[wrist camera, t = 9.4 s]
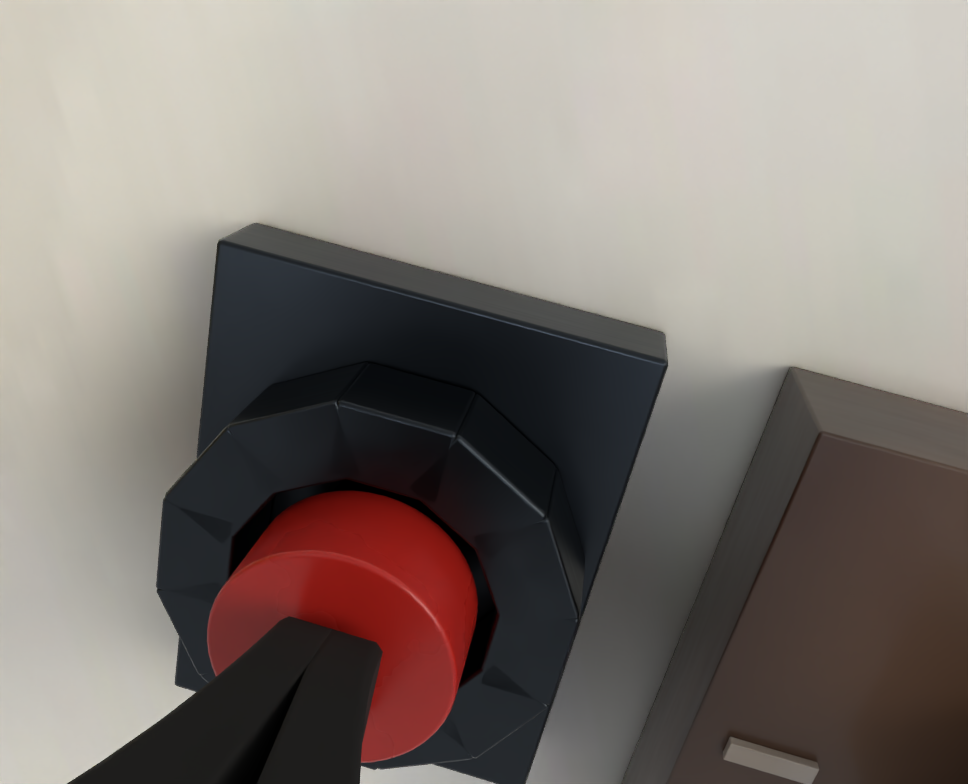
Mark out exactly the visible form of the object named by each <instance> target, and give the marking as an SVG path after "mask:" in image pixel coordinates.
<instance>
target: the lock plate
mask: <svg viewBox="0 0 968 784" xmlns="http://www.w3.org/2000/svg"><path fill="white" fill-rule="evenodd" d="M621 784H968V414H967V413H963V412H959V411H956V410H952V409H948V408H944V407H941V406H937V405H933V404H930V403H926V402H922V401H918V400H915V399H911V398H907V397H904V396H900V395H896V394H892V393H889V392H885V391H881V390H878V389H874V388H870V387H866V386H863V385H859V384H855V383H851V382H848V381H844V380H840V379H837V378H833V377H829V376H825V375H822V374H818V373H814V372H811V371H807V370H803V369H799V368H796V367H791V368H790V369H789V371H788V374H787V376H786V379H785V381H784V384H783V386H782V389H781V391H780V394H779V396H778V399H777V401H776V403H775V406H774V408H773V411H772V413H771V416H770V418H769V421H768V423H767V426H766V428H765V431H764V433H763V436H762V438H761V440H760V443H759V445H758V448H757V450H756V453H755V455H754V458H753V460H752V463H751V465H750V468H749V470H748V473H747V475H746V477H745V480H744V482H743V485H742V487H741V490H740V492H739V495H738V497H737V500H736V502H735V505H734V507H733V509H732V512H731V514H730V517H729V519H728V522H727V524H726V527H725V529H724V532H723V534H722V537H721V539H720V542H719V544H718V546H717V549H716V551H715V554H714V556H713V559H712V561H711V564H710V566H709V569H708V571H707V574H706V576H705V579H704V581H703V583H702V586H701V588H700V591H699V593H698V596H697V598H696V601H695V603H694V606H693V608H692V611H691V613H690V615H689V618H688V620H687V623H686V625H685V628H684V630H683V633H682V635H681V638H680V640H679V643H678V645H677V648H676V650H675V652H674V655H673V657H672V660H671V662H670V665H669V667H668V670H667V672H666V675H665V677H664V680H663V682H662V685H661V687H660V689H659V692H658V694H657V697H656V699H655V702H654V704H653V707H652V709H651V712H650V714H649V717H648V719H647V722H646V724H645V726H644V729H643V731H642V734H641V736H640V739H639V741H638V744H637V746H636V749H635V751H634V754H633V756H632V758H631V761H630V763H629V766H628V768H627V771H626V773H625V776H624V778H623V781H622V783H621Z"/></svg>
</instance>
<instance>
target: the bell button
mask: <svg viewBox="0 0 968 784" xmlns="http://www.w3.org/2000/svg"><path fill="white" fill-rule="evenodd" d="M477 614H478V597H477V589H476V585H475V581H474V578H473V574H472V572H471V570H470V568H469V565H468V563H467V561H466V559H465V557H464V556H463V554H462V552H461V551H460V549H459V547H458V546H457V545H456V544H455V542H454V541H453V540H452V538H451V537H450V536H449V535H448V534H447V533H446V532H445V531H444V530H443V529H442V528H441V527H440V526H439V525H438V524H436V523H435V522H434V521H433V520H431V519H430V518H429V517H428V516H426V515H425V514H423V513H421V512H420V511H418V510H417V509H415V508H413V507H411V506H409V505H407V504H405V503H403V502H401V501H399V500H396V499H393V498H390V497H387V496H384V495H380V494H375V493H371V492H364V491H354V490H351V491H333V492H326V493H321V494H318V495H314V496H311V497H308V498H305V499H303V500H301V501H298V502H296V503H295V504H293V505H291V506H290V507H288V508H287V509H285V510H284V511H283V512H281V513H280V514H279V515H278V516H277V517H276V518H275V519H274V520H273V521H272V522H271V524H270V525H269V526H268V527H267V528H266V530H265V531H264V532H263V534H262V535H261V536H260V538H259V539H258V540H257V542H256V543H255V544H254V546H253V547H252V548H251V550H250V551H249V552H248V554H247V555H246V556H245V558H244V559H243V560H242V562H241V563H240V564H239V566H238V567H237V568H236V570H235V571H234V572H233V573H232V575H231V576H230V577H229V579H228V580H227V581H226V583H225V584H224V585H223V587H222V588H221V590H220V592H219V593H218V595H217V597H216V598H215V600H214V603H213V606H212V608H211V611H210V615H209V620H208V627H207V644H208V653H209V657H210V661H211V664H212V668H213V670H214V673H215V675H216V676H218V675H219V674H220V673H221V672H222V671H224V670H225V669H226V668H227V667H228V666H230V665H231V664H232V663H233V662H234V661H236V660H237V659H238V658H239V657H240V656H241V655H242V654H244V653H245V652H246V651H247V650H248V649H249V648H251V647H252V646H253V645H254V644H255V643H256V642H257V641H258V640H259V639H261V638H262V637H263V636H264V635H265V634H266V633H267V632H268V631H269V630H270V629H271V628H273V627H274V626H275V625H276V624H277V623H278V622H279V621H280V620H282V619H284V618H286V617H288V616H291V617H294V618H297V619H301V620H304V621H307V622H311V623H314V624H317V625H321V626H324V627H327V628H331V629H334V630H337V631H341V632H344V633H347V634H351V635H354V636H357V637H361V638H364V639H367V640H371V641H374V642H377V644H378V645H379V647H380V648H381V650H382V651H383V654H382V658H381V662H380V667H379V671H378V676H377V680H376V685H375V689H374V694H373V698H372V703H371V707H370V711H369V716H368V720H367V725H366V729H365V734H364V738H363V743H362V753H361V763H367V762H376V761H382V760H387V759H390V758H394V757H397V756H400V755H402V754H405V753H407V752H409V751H411V750H413V749H415V748H416V747H418V746H420V745H421V744H423V743H424V742H425V741H426V740H428V739H429V738H430V737H431V736H432V735H433V734H434V733H435V732H436V731H437V730H438V729H439V728H440V727H441V725H442V724H443V723H444V722H445V720H446V718H447V716H448V715H449V713H450V711H451V709H452V706H453V703H454V701H455V698H456V694H457V691H458V687H459V683H460V680H461V676H462V672H463V669H464V665H465V661H466V658H467V654H468V651H469V647H470V643H471V640H472V636H473V632H474V629H475V625H476V620H477Z"/></svg>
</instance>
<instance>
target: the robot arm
mask: <svg viewBox="0 0 968 784" xmlns="http://www.w3.org/2000/svg"><path fill="white" fill-rule="evenodd" d="M382 654H383V651H382V650H381V648H380V647H379V645H378V644H377V642H374V641H371V640H367V639H364V638H361V637H357V636H354V635H351V634H347V633H344V632H341V631H337V630H334V629H331V628H327V627H324V626H321V625H317V624H314V623H311V622H307V621H304V620H301V619H297V618H294V617H291V616H288V617H286V618H284V619H282V620H280V621H279V622H278V623H277V624H276V625H275V626H274V627H273V628H271V629H270V630H269V631H268V632H267V633H266V634H265V635H264V636H263V637H262V638H261V639H259V640H258V641H257V642H256V643H255V644H254V645H253V646H252V647H251V648H249V649H248V650H247V651H246V652H245V653H244V654H242V655H241V656H240V657H239V658H238V659H237V660H236V661H234V662H233V663H232V664H231V665H230V666H228V667H227V668H226V669H225V670H224V671H222V672H221V673H220V674H219V675H218V676H216V677H215V678H214V679H213V680H211V681H210V682H209V683H208V684H206V685H205V686H204V687H203V688H201V689H200V690H199V691H197V692H196V693H195V694H194V695H192V696H191V697H190V698H188V699H187V700H186V701H185V702H183V703H182V704H181V705H180V706H178V707H177V708H176V709H174V710H173V711H172V712H171V713H169V714H168V715H167V716H165V717H164V718H163V719H161V720H160V721H158V722H157V723H156V724H154V725H153V726H151V727H150V728H149V729H147V730H146V731H144V732H143V733H141V734H140V735H139V736H137V737H136V738H134V739H133V740H132V741H130V742H129V743H127V744H126V745H124V746H123V747H122V748H120V749H119V750H117V751H116V752H114V753H113V754H112V755H110V756H109V757H107V758H106V759H104V760H103V761H101V762H100V763H98V764H97V765H95V766H94V767H92V768H91V769H89V770H88V771H86V772H85V773H83V774H81V775H80V776H78V777H77V778H75V779H74V780H72V781H70V782H69V783H67V784H360V769H361V753H362V743H363V738H364V734H365V729H366V725H367V720H368V716H369V711H370V707H371V703H372V698H373V694H374V689H375V685H376V680H377V676H378V671H379V667H380V662H381V658H382Z"/></svg>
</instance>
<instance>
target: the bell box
mask: <svg viewBox="0 0 968 784" xmlns="http://www.w3.org/2000/svg"><path fill="white" fill-rule="evenodd" d="M667 367H668V359H667V348H666V337H665V334H664V333H663V332H660V331H656V330H652V329H648V328H645V327H641V326H637V325H634V324H630V323H626V322H622V321H619V320H615V319H611V318H608V317H604V316H600V315H596V314H593V313H589V312H585V311H581V310H578V309H574V308H570V307H567V306H563V305H559V304H555V303H552V302H548V301H544V300H541V299H537V298H533V297H529V296H526V295H522V294H518V293H515V292H511V291H507V290H503V289H500V288H496V287H492V286H488V285H485V284H481V283H477V282H474V281H470V280H466V279H462V278H459V277H455V276H451V275H448V274H444V273H440V272H436V271H433V270H429V269H425V268H422V267H418V266H414V265H410V264H407V263H403V262H399V261H395V260H392V259H388V258H384V257H381V256H377V255H373V254H369V253H366V252H362V251H358V250H355V249H351V248H347V247H343V246H340V245H336V244H332V243H329V242H325V241H321V240H317V239H314V238H310V237H306V236H302V235H299V234H295V233H291V232H288V231H284V230H280V229H276V228H273V227H269V226H265V225H262V224H258V223H254V224H251V225H249V226H247V227H245V228H243V229H241V230H239V231H237V232H235V233H233V234H231V235H228V236H226V237H224V238H222V239H220V240H219V242H218V244H217V253H216V264H215V274H214V284H213V294H212V305H211V315H210V325H209V336H208V346H207V356H206V366H205V377H204V387H203V397H202V408H201V418H200V428H199V438H198V449H197V459H196V460H195V461H194V463H193V464H192V465H191V466H190V467H189V468H188V469H187V470H186V471H185V473H184V474H183V475H182V476H181V477H180V478H179V479H178V480H177V481H176V483H175V484H174V485H173V486H172V487H171V488H170V489H169V490H168V492H167V493H166V495H165V498H164V499H163V508H162V520H161V533H160V545H159V557H158V570H157V582H156V587H157V593H158V595H159V597H160V599H161V601H162V603H163V605H164V607H165V609H166V611H167V613H168V615H169V617H170V619H171V621H172V623H173V625H174V627H175V629H176V631H177V633H178V635H179V644H178V655H177V665H176V675H175V685H177V686H179V687H182V688H185V689H189V690H192V691H195V692H197V691H199V690H200V689H201V688H203V687H204V686H205V685H206V684H208V683H209V682H210V681H211V680H213V679H214V678H215V677H216V675H215V673H214V670H213V668H212V664H211V661H210V657H209V653H208V644H207V627H208V620H209V615H210V611H211V608H212V606H213V603H214V600H215V598H216V597H217V595H218V593H219V592H220V590H221V588H222V587H223V585H224V584H225V583H226V581H227V580H228V579H229V577H230V576H231V575H232V573H233V572H234V571H235V570H236V568H237V567H238V566H239V564H240V563H241V562H242V560H243V559H244V558H245V556H246V555H247V554H248V552H249V551H250V550H251V548H252V547H253V546H254V544H255V543H256V542H257V540H258V539H259V538H260V536H261V535H262V534H263V532H264V531H265V530H266V528H267V527H268V526H269V525H270V524H271V522H272V521H273V520H274V519H275V518H276V517H277V516H278V515H279V514H280V513H281V512H283V511H284V510H285V509H287V508H288V507H290V506H291V505H293V504H295V503H296V502H298V501H301V500H303V499H305V498H308V497H311V496H314V495H318V494H321V493H326V492H333V491H351V490H354V491H364V492H371V493H375V494H380V495H384V496H387V497H390V498H393V499H396V500H399V501H401V502H403V503H405V504H407V505H409V506H411V507H413V508H415V509H417V510H418V511H420V512H421V513H423V514H425V515H426V516H428V517H429V518H430V519H431V520H433V521H434V522H435V523H436V524H438V525H439V526H440V527H441V528H442V529H443V530H444V531H445V532H446V533H447V534H448V535H449V536H450V537H451V538H452V540H453V541H454V542H455V544H456V545H457V546H458V547H459V549H460V551H461V552H462V554H463V556H464V557H465V559H466V561H467V563H468V565H469V568H470V570H471V572H472V574H473V578H474V581H475V585H476V589H477V597H478V614H477V620H476V625H475V629H474V632H473V636H472V640H471V643H470V647H469V651H468V654H467V658H466V661H465V665H464V669H463V672H462V676H461V680H460V683H459V687H458V691H457V694H456V698H455V701H454V703H453V706H452V709H451V711H450V713H449V715H448V716H447V718H446V720H445V722H444V723H443V724H442V725H441V727H440V728H439V729H438V730H437V731H436V732H435V733H434V734H433V735H432V736H431V737H430V738H429V739H428V740H426V741H425V742H424V743H423V744H421V745H420V746H418V747H416V748H415V749H413V750H411V751H409V752H407V753H405V754H402V755H400V756H397V757H394V758H390V759H387V760H382V761H376V762H367V763H361V766H363V767H367V768H370V769H373V770H376V769H377V768H378V769H390V768H399V767H408V766H417V765H426V764H434V765H437V766H440V767H444V768H447V769H450V770H453V771H457V772H460V773H463V774H467V775H470V776H473V777H476V778H480V779H483V780H486V781H489V782H493V783H496V784H526V781H527V778H528V775H529V772H530V769H531V766H532V763H533V760H534V757H535V754H536V752H537V749H538V746H539V743H540V740H541V737H542V734H543V731H544V728H545V725H546V722H547V719H548V716H549V713H550V710H551V708H552V705H553V702H554V699H555V696H556V693H557V690H558V687H559V684H560V681H561V678H562V675H563V672H564V669H565V666H566V664H567V661H568V658H569V655H570V652H571V649H572V646H573V643H574V640H575V637H576V634H577V631H578V628H579V625H580V622H581V620H582V617H583V614H584V611H585V608H586V605H587V602H588V599H589V596H590V593H591V590H592V587H593V584H594V581H595V578H596V576H597V573H598V570H599V567H600V564H601V561H602V558H603V555H604V552H605V549H606V546H607V543H608V540H609V537H610V534H611V532H612V529H613V526H614V523H615V520H616V517H617V514H618V511H619V508H620V505H621V502H622V499H623V496H624V493H625V490H626V488H627V485H628V482H629V479H630V476H631V473H632V470H633V467H634V464H635V461H636V458H637V455H638V452H639V449H640V446H641V444H642V441H643V438H644V435H645V432H646V429H647V426H648V423H649V420H650V417H651V414H652V411H653V408H654V405H655V402H656V400H657V397H658V394H659V391H660V388H661V385H662V382H663V379H664V376H665V373H666V370H667Z"/></svg>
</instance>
